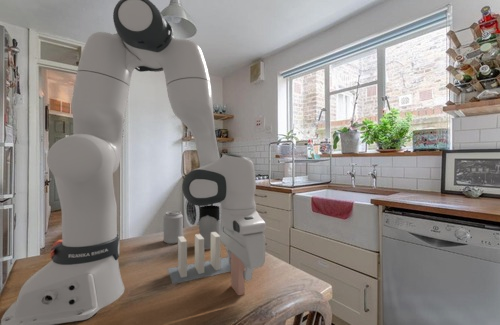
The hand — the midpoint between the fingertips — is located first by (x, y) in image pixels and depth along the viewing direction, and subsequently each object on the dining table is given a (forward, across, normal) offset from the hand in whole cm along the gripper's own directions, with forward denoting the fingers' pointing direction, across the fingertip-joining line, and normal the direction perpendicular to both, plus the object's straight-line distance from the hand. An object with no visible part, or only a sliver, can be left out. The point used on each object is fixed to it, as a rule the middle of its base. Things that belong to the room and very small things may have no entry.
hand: (239, 271), depth 62 cm
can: (+5, -45, -9) cm, 46 cm away
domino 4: (+5, 0, -1) cm, 5 cm away
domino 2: (+4, -15, -6) cm, 17 cm away
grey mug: (+5, -36, +4) cm, 36 cm away
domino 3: (+4, -15, -2) cm, 16 cm away
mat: (+5, -15, -2) cm, 16 cm away
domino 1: (+4, -15, -12) cm, 19 cm away
